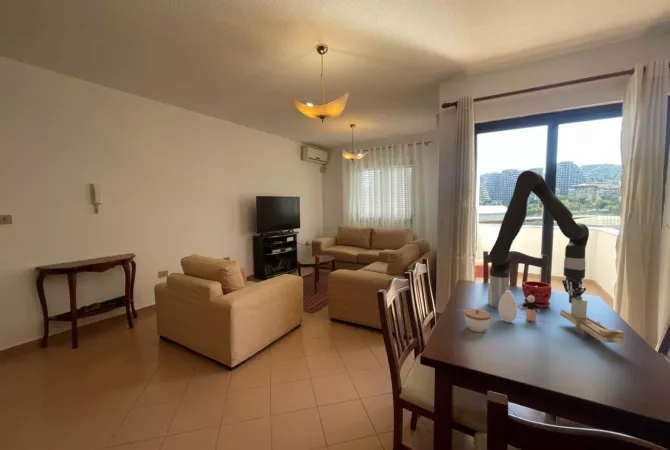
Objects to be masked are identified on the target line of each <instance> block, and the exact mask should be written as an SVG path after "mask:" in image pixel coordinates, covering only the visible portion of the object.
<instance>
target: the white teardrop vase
mask: <svg viewBox="0 0 670 450" xmlns="http://www.w3.org/2000/svg"><path fill="white" fill-rule="evenodd" d="M497 310H498V314H499V317H500V318H501V320H503V321H504V322H505V323H512V322H513V321H514V320H516V318H517V315H518V305H517V301H516V299H515V297H514V295H513V293H512V291H511V290H510V285H509V286H508V290H506V291H505V293H504V294H503V295H502V297H501V299H500V301H499V306H498V308H497Z"/></svg>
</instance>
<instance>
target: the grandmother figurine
mask: <svg viewBox="0 0 670 450" xmlns="http://www.w3.org/2000/svg"><path fill="white" fill-rule="evenodd" d="M527 300H528V302H529V303H525V302H524V303H523V304H522V305H521V307H520V309H521V310H524V309H526V310H525V321H526V322H528V323H529V322H531V323H538V321H537V319H536V317H537V313H540V314H541V310H540V307H538V306H537V305H536V304H534V303H533V302H534V301H535V298H534V296H528V297H527ZM536 311H537V313H536Z"/></svg>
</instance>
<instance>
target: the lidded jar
mask: <svg viewBox="0 0 670 450" xmlns="http://www.w3.org/2000/svg"><path fill="white" fill-rule="evenodd" d="M491 318H492V317H491V313H489V312H488V311H486V310H483V309H479V308H468V309H465V310H464V322H465V323H466V325H467V327H468V328H469V330H471V331H473V332H476V333H484V332H485V331H487V329H489V326H490V323H491Z"/></svg>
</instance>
